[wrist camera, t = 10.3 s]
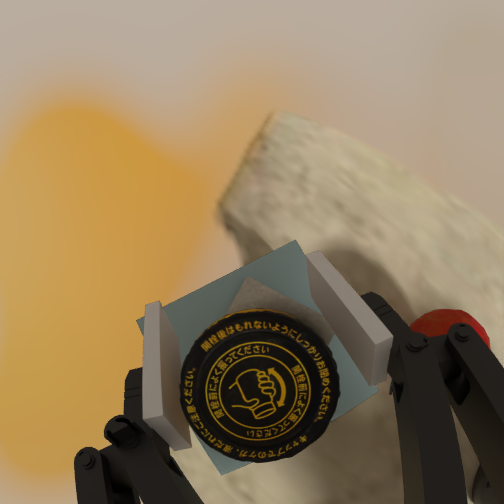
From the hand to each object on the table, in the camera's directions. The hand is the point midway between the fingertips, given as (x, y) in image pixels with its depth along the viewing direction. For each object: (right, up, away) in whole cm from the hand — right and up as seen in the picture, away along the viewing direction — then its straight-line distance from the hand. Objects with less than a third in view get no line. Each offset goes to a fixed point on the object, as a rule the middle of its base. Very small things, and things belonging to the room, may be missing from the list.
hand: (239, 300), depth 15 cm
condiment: (+1, -5, +5) cm, 7 cm away
